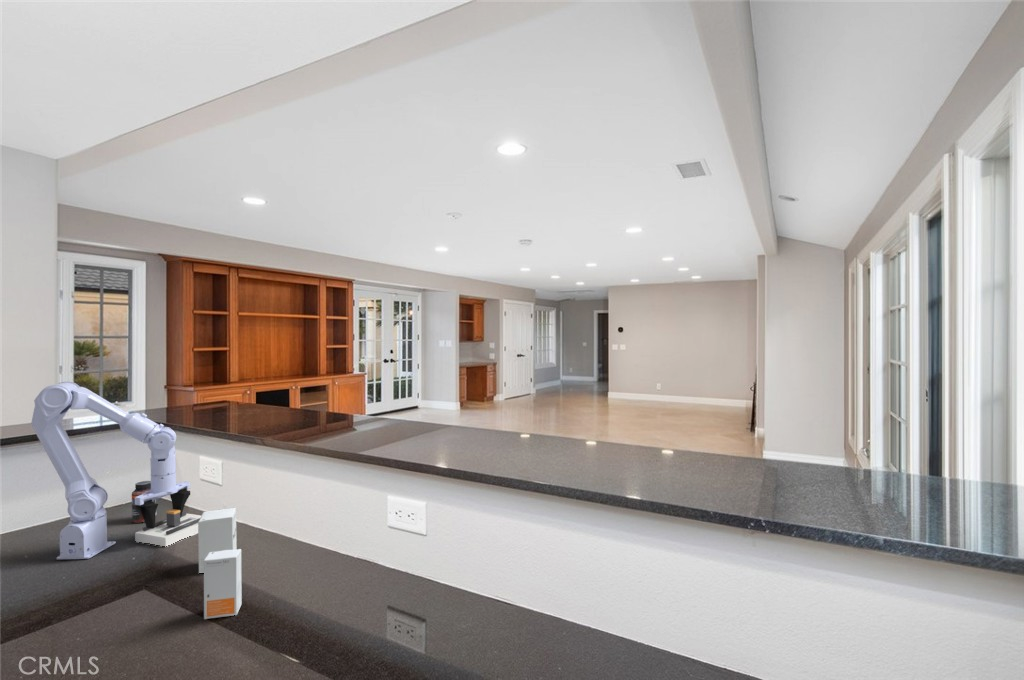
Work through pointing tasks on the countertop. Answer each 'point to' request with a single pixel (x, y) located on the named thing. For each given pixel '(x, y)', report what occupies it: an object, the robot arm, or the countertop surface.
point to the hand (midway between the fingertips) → (164, 522)
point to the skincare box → (222, 583)
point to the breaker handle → (173, 517)
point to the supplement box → (216, 533)
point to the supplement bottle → (140, 489)
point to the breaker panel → (169, 531)
